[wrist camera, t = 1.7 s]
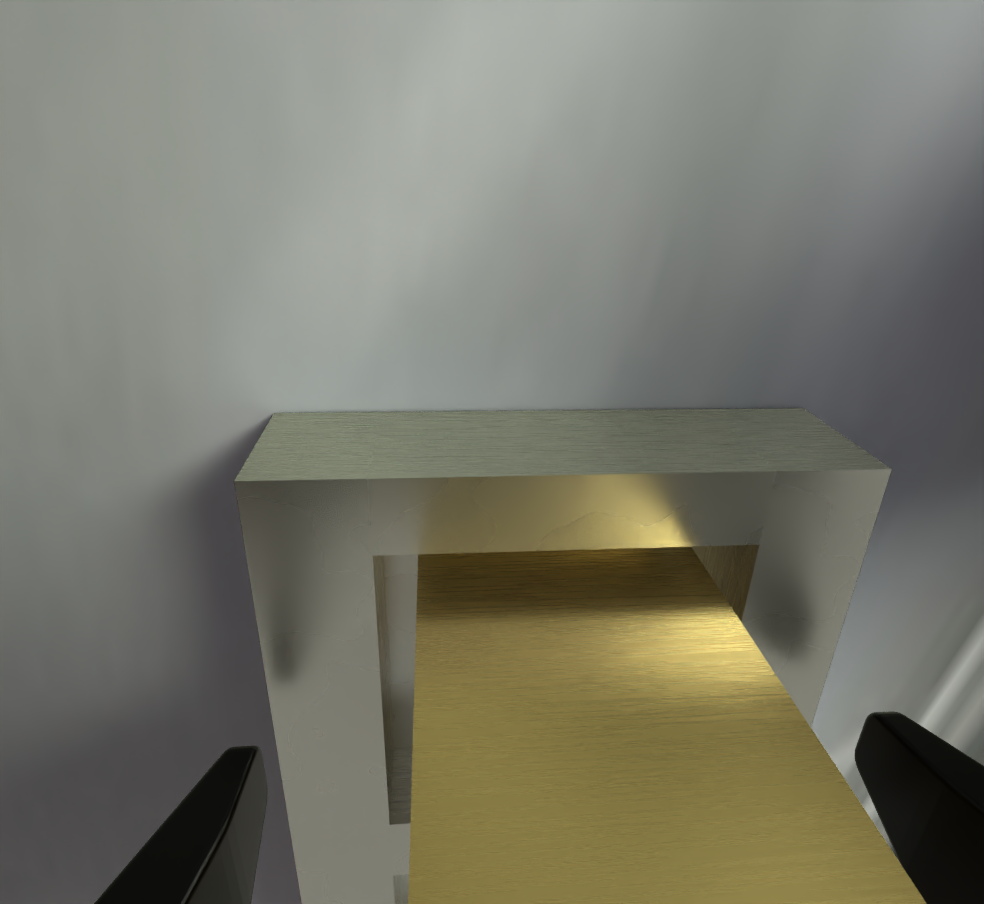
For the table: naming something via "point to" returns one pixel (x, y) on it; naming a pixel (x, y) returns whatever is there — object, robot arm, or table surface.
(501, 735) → the gold push button block
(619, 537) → the rail
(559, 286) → the table surface
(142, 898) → the robot arm
